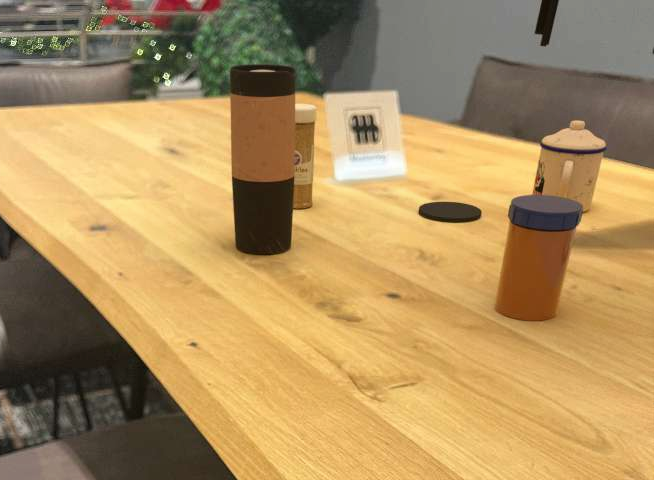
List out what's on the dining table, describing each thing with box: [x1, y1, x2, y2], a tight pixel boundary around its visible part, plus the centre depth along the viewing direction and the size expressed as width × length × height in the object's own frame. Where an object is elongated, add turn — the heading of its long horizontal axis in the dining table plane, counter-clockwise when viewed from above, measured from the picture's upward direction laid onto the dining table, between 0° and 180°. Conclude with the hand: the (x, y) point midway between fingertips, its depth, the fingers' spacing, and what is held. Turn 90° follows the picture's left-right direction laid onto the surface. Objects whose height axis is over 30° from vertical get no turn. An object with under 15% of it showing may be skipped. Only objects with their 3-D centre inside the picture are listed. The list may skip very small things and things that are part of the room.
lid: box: [507, 194, 584, 230], centre depth 75 cm, size 7×7×2 cm
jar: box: [494, 220, 577, 322], centre depth 78 cm, size 6×6×10 cm
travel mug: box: [229, 63, 297, 256], centre depth 92 cm, size 8×8×20 cm
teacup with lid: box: [531, 119, 607, 213], centre depth 110 cm, size 12×9×12 cm
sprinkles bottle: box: [293, 103, 317, 209], centre depth 110 cm, size 5×5×13 cm
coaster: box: [418, 201, 483, 223], centre depth 111 cm, size 9×9×1 cm
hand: (600, 50), depth 67 cm, fingers open, 9 cm apart
